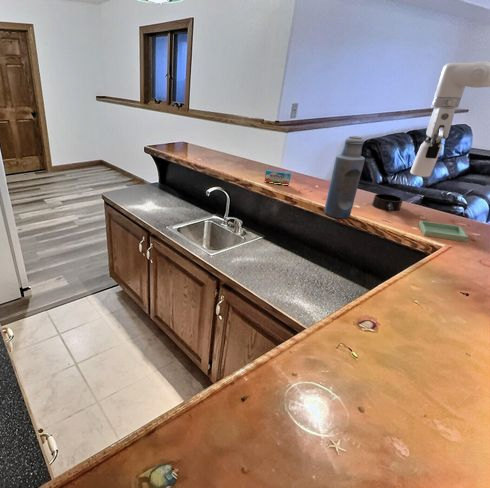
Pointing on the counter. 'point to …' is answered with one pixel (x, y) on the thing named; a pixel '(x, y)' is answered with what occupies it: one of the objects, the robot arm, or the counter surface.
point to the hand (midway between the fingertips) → (428, 155)
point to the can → (424, 161)
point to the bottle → (345, 179)
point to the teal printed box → (277, 177)
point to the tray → (443, 231)
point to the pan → (387, 202)
